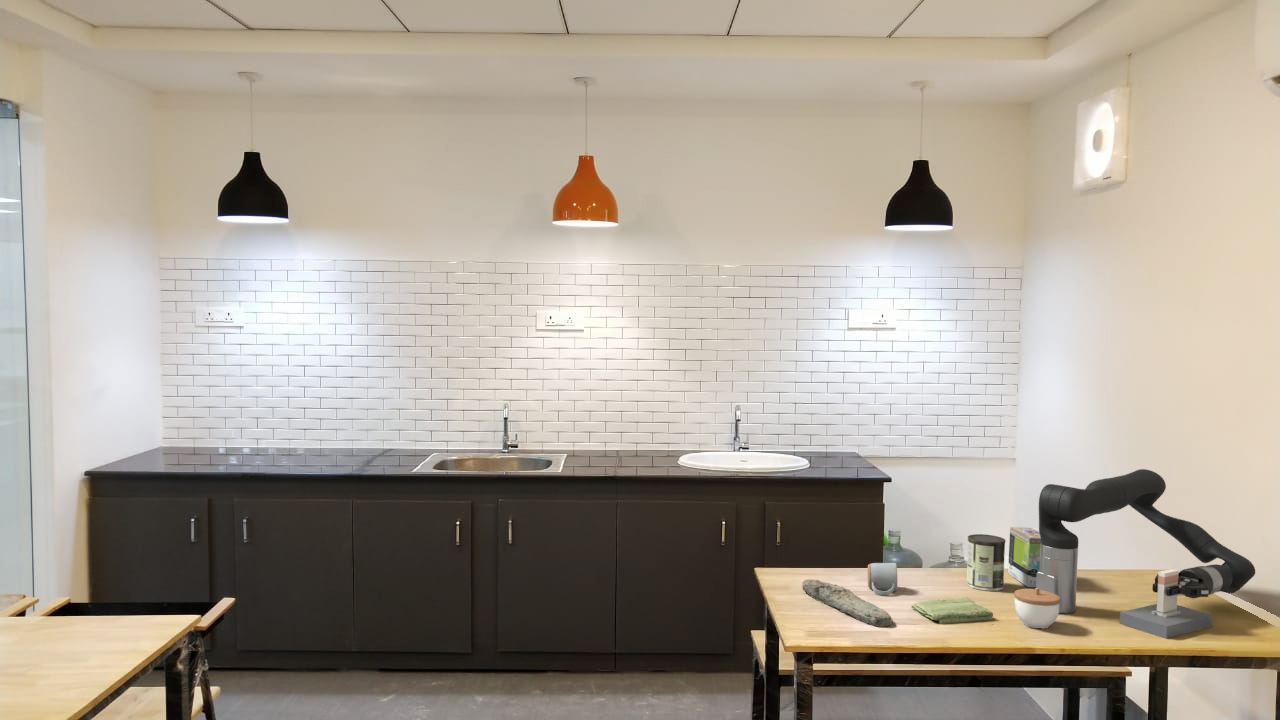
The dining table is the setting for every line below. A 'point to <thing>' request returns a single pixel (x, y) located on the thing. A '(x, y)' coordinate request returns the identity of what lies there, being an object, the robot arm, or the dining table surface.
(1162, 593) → the banded cream bar
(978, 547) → the coffee can
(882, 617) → the long grey stone
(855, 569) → the dining table surface
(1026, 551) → the green printed box
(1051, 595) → the lidded jar
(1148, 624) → the grey slotted block
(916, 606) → the washcloth
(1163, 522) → the robot arm
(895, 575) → the ceramic mug
